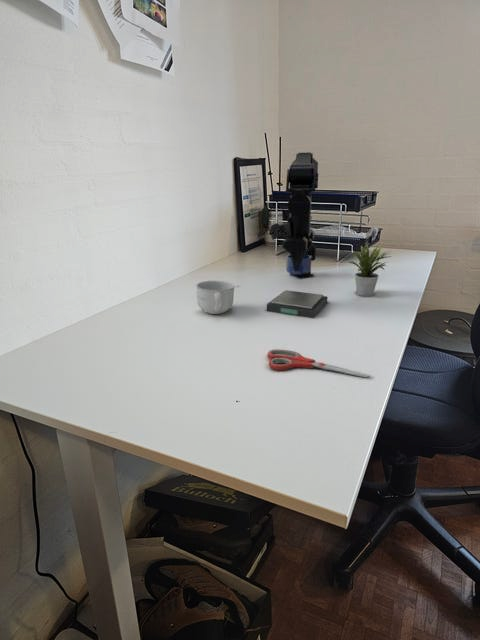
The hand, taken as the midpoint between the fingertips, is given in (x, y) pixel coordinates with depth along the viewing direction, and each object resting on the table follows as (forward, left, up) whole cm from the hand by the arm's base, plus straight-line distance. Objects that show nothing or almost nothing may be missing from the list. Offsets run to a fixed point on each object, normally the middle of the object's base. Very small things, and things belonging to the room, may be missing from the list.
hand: (298, 268), depth 116 cm
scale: (+1, +1, -11) cm, 11 cm away
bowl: (0, 0, -1) cm, 1 cm away
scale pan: (+1, +1, -9) cm, 9 cm away
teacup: (+24, -7, -11) cm, 27 cm away
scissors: (+19, +33, -11) cm, 40 cm away
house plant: (-24, +3, -11) cm, 27 cm away
